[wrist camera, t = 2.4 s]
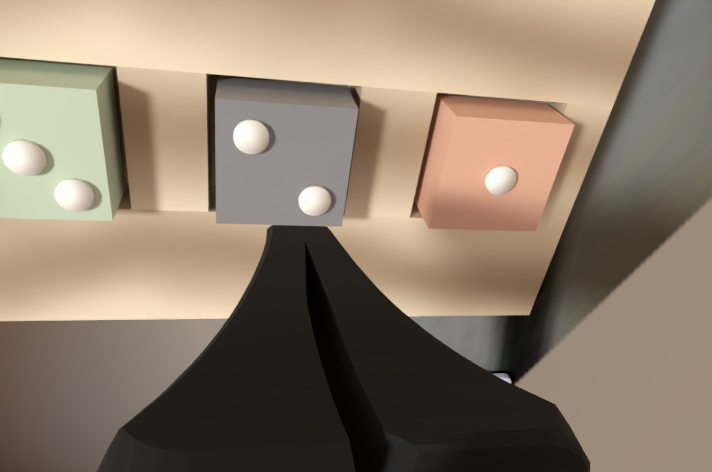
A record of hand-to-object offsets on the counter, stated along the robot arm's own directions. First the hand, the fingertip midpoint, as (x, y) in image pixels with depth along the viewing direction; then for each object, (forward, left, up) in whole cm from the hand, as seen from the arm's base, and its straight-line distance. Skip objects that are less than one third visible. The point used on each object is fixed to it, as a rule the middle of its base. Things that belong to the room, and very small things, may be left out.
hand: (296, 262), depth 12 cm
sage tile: (0, +7, -7) cm, 10 cm away
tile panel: (0, 0, -8) cm, 8 cm away
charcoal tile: (0, 0, -7) cm, 7 cm away
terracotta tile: (0, -7, -7) cm, 10 cm away
